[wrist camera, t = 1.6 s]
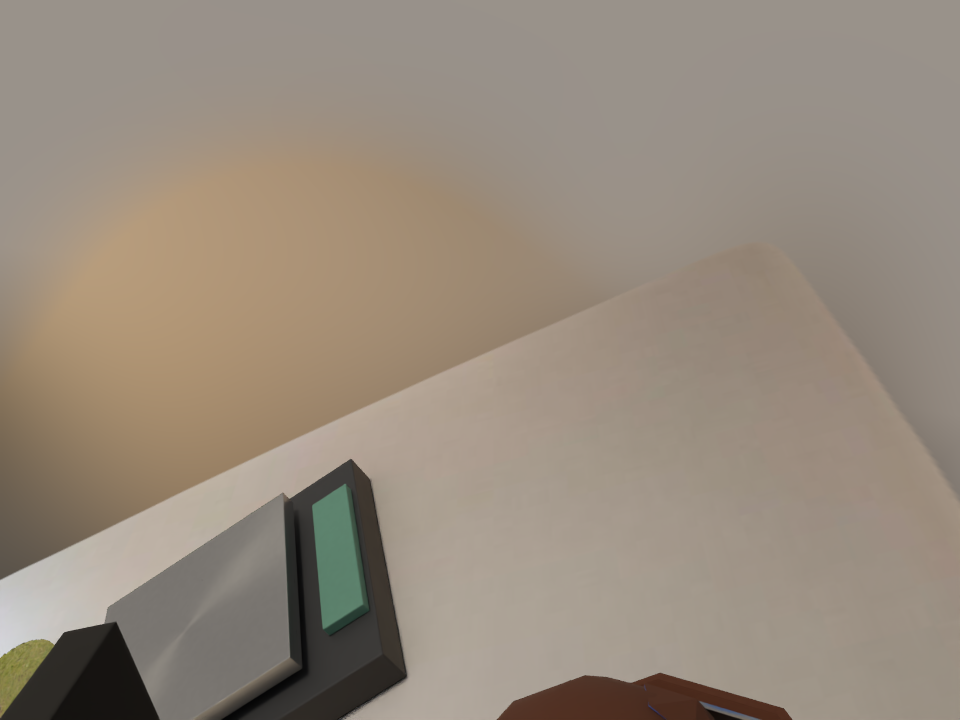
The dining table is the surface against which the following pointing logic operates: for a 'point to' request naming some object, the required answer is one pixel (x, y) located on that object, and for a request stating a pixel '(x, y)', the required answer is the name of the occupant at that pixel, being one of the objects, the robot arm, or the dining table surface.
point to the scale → (336, 606)
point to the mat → (20, 669)
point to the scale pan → (219, 619)
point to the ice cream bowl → (638, 702)
